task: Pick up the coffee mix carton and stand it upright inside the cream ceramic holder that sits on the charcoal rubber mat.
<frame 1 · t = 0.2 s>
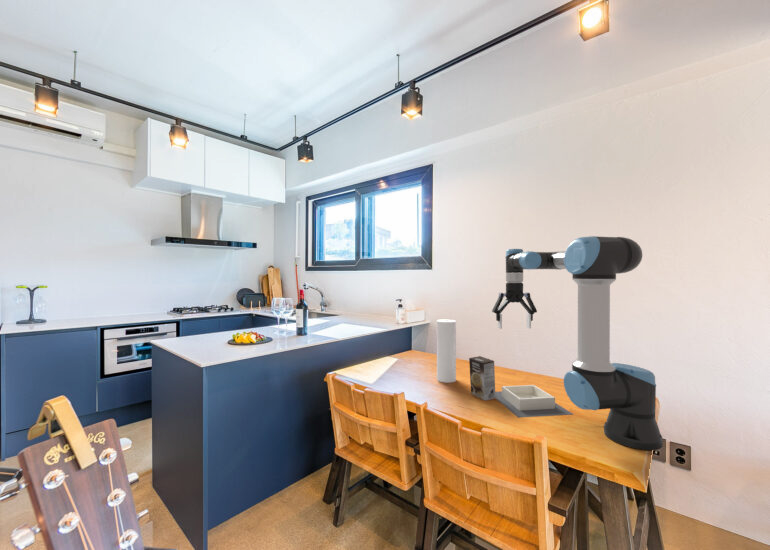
hand: (514, 328, 153), 28 cm above the table, fingers open, 13 cm apart
coffee box: (483, 396, 142), on the table, touching mat
mat: (527, 403, 135), on the table
cylinder container: (446, 379, 165), on the table
holder: (527, 402, 135), resting on mat
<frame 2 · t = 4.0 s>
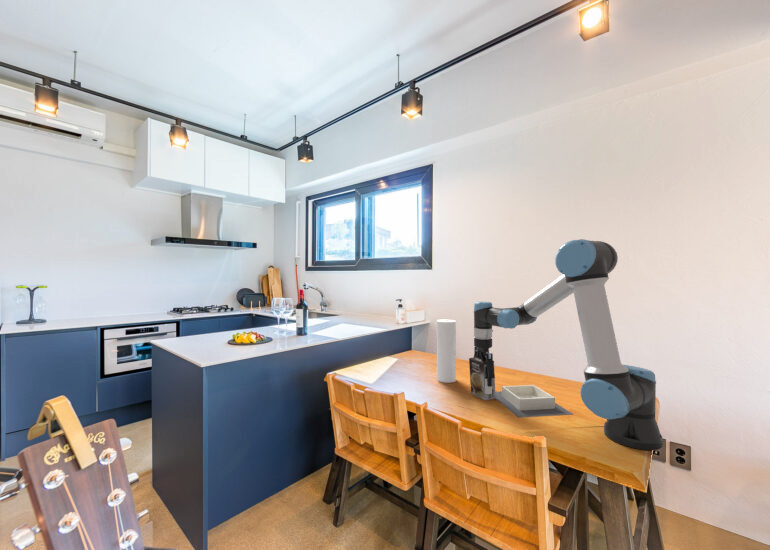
hand: (483, 388, 142), 3 cm above the table, fingers closed on coffee box, 10 cm apart
coffee box: (483, 396, 142), on the table, touching gripper
everything else where it was.
when the fingers open (6 cm above the table, at t = 10.3 s): coffee box drops 2 cm, resting on holder.
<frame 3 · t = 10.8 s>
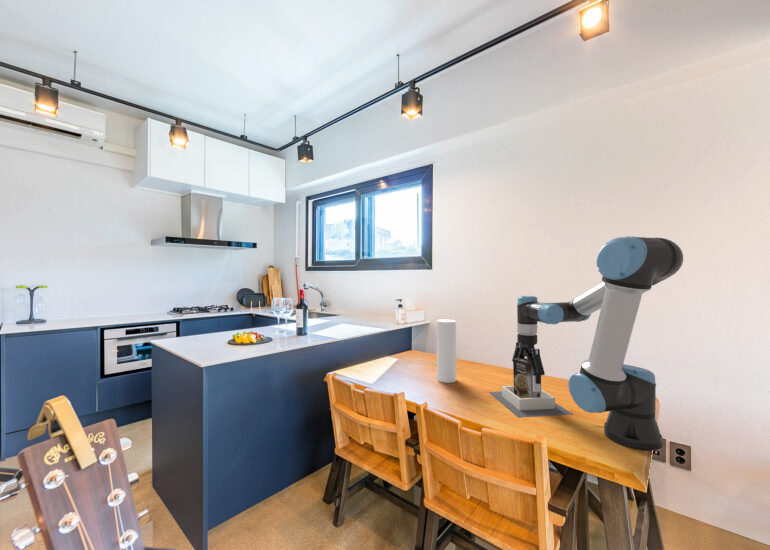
hand: (527, 385, 135), 7 cm above the table, fingers open, 13 cm apart
coffee box: (527, 400, 135), point 1 cm above the table, touching holder
everything else where it was.
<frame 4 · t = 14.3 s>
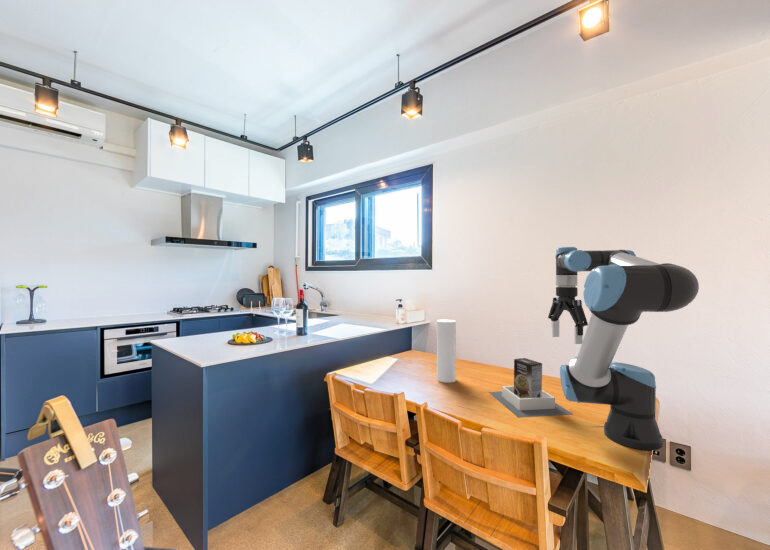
hand: (566, 340, 130), 27 cm above the table, fingers open, 13 cm apart
nothing on the table moved.
at the end: coffee box inside the target area on the holder (0.2 cm from its centre), point 0.7 cm above the holder's base; coffee box tilted 0°; the gripper is holding nothing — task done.
